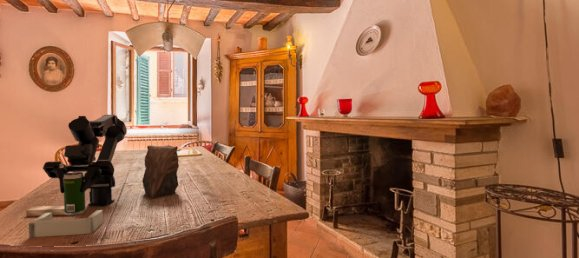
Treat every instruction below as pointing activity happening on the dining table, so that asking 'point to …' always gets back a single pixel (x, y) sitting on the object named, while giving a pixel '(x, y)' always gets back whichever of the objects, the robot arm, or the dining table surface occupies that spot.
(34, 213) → the slat
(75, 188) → the guarana soda can
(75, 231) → the beige u-shaped bracket
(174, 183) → the brown paper bag
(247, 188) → the dining table surface
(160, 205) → the dining table surface
